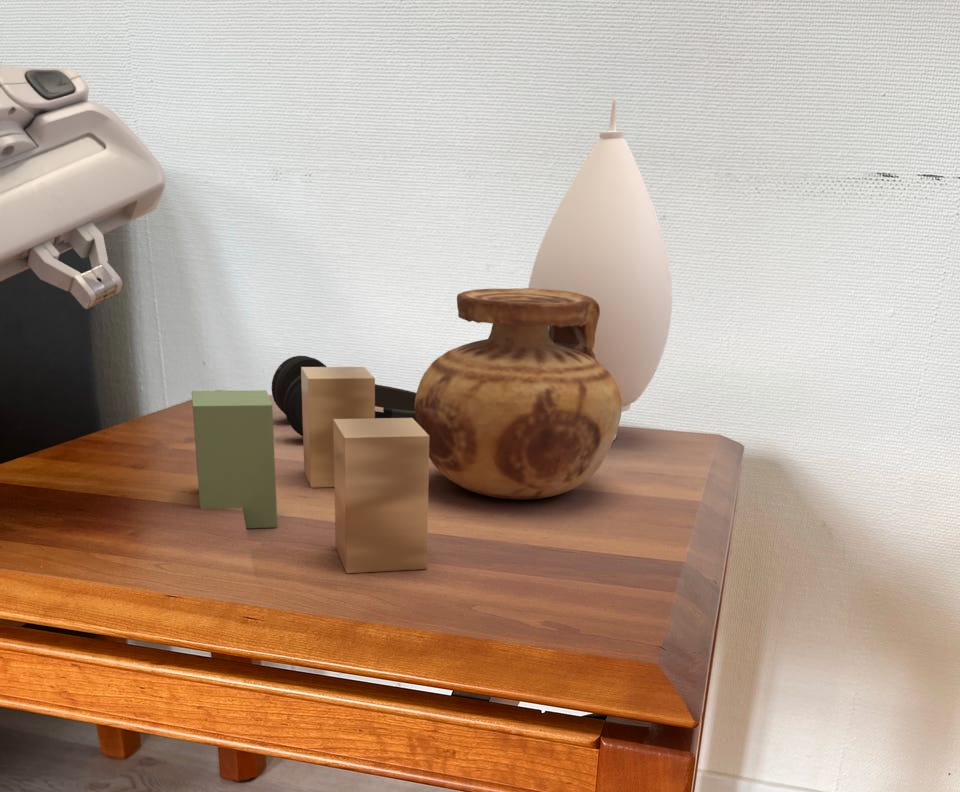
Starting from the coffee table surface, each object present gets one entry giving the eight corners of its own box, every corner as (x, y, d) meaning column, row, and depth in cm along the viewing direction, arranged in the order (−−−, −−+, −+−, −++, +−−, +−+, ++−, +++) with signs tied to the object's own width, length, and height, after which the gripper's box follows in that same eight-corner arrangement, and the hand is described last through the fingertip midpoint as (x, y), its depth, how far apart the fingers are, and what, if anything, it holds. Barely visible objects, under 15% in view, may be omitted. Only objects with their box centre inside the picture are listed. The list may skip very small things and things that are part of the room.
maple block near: (346, 573, 74) (344, 437, 70) (335, 547, 80) (333, 418, 76) (427, 569, 76) (429, 435, 72) (410, 543, 81) (412, 417, 77)
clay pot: (538, 501, 82) (479, 251, 80) (401, 532, 97) (347, 321, 94) (678, 464, 95) (631, 246, 92) (538, 497, 109) (494, 309, 106)
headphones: (271, 346, 119) (434, 372, 126) (264, 410, 122) (423, 431, 129) (293, 371, 104) (475, 398, 112) (284, 443, 107) (463, 465, 114)
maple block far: (311, 487, 94) (307, 378, 90) (304, 471, 100) (300, 366, 96) (375, 485, 96) (375, 377, 92) (365, 469, 101) (364, 366, 97)
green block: (201, 530, 82) (192, 405, 78) (200, 509, 87) (191, 390, 83) (277, 527, 83) (272, 404, 79) (271, 506, 89) (266, 390, 85)
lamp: (677, 451, 114) (721, 97, 99) (541, 454, 110) (565, 86, 96) (627, 421, 128) (658, 106, 113) (504, 422, 124) (521, 97, 110)
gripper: (-173, 154, 62) (-16, 335, 64) (94, 62, 74) (221, 219, 76) (-171, 217, 68) (-25, 383, 70) (78, 122, 79) (198, 267, 81)
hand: (105, 296), depth 73 cm, fingers closed
